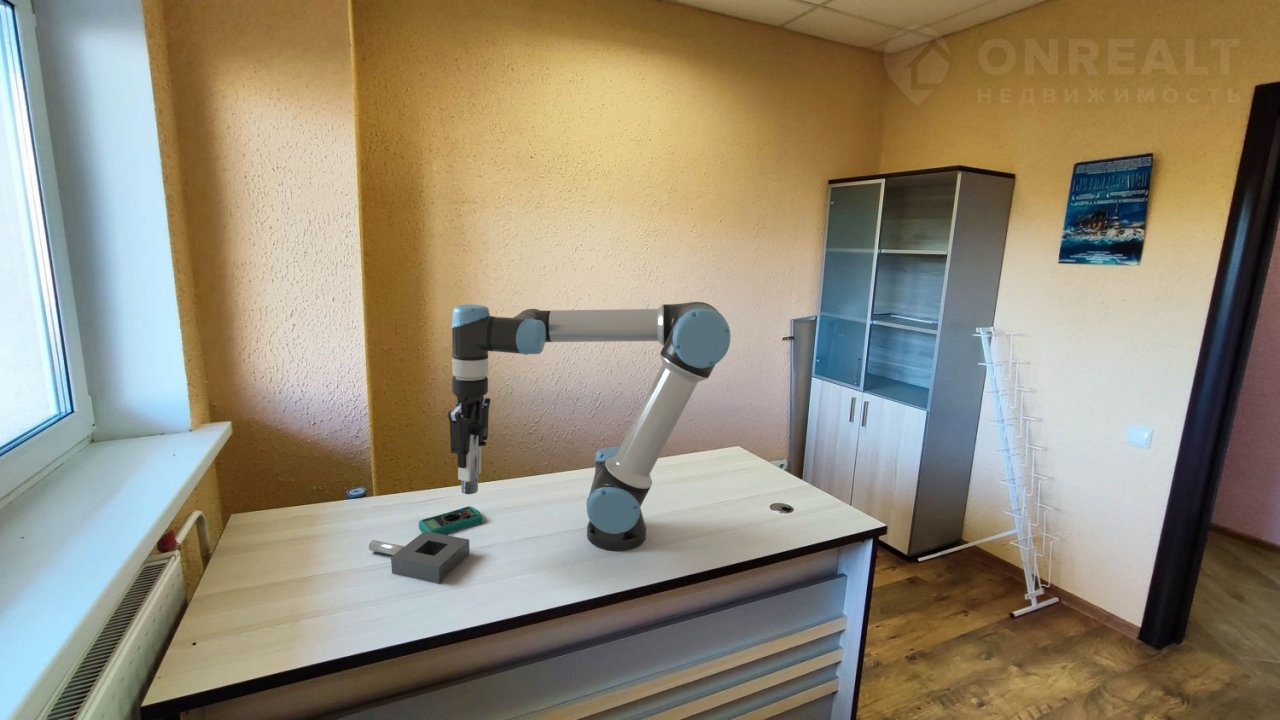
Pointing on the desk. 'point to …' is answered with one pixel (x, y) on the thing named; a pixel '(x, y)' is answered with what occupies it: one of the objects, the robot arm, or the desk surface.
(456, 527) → the digital multimeter
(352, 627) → the desk surface
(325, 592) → the desk surface
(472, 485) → the t key
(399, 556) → the block
